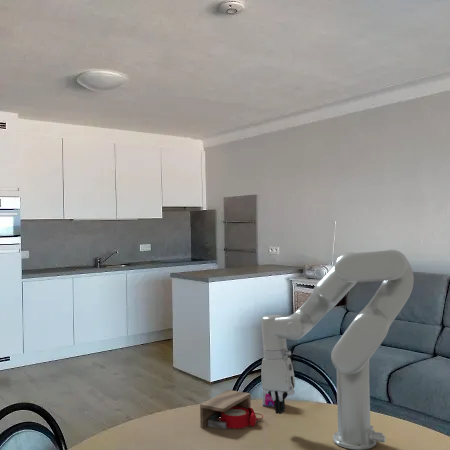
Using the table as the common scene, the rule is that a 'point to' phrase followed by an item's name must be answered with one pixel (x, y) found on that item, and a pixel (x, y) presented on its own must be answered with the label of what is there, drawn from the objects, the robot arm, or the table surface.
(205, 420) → the overhang shelf
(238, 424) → the alarm clock
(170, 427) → the table surface
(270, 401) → the supplement box
